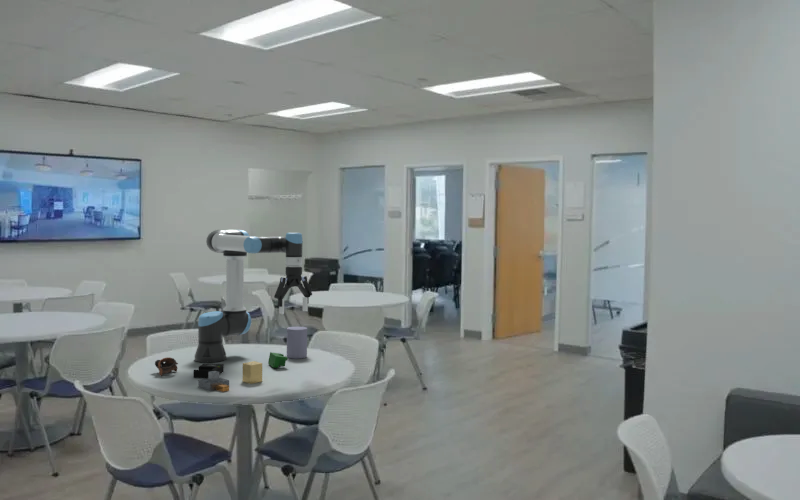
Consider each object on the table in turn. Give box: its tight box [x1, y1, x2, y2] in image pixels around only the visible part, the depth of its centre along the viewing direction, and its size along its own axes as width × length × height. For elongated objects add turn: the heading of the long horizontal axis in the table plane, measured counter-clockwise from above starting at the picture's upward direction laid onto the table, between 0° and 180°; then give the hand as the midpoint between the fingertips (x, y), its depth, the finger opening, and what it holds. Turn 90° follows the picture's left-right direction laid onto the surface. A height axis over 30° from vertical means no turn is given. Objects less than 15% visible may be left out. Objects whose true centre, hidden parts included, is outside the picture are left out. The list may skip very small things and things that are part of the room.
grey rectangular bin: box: [197, 371, 230, 393], centre depth 265 cm, size 14×9×6 cm, turn 48°
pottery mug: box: [154, 357, 179, 377], centre depth 287 cm, size 12×9×8 cm
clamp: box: [267, 351, 288, 369], centre depth 307 cm, size 12×6×9 cm, turn 21°
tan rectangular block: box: [242, 360, 263, 385], centre depth 277 cm, size 6×6×8 cm
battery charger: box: [192, 363, 225, 379], centre depth 288 cm, size 13×10×4 cm
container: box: [286, 326, 308, 360], centre depth 329 cm, size 10×10×15 cm
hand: (293, 312), depth 293 cm, fingers open, 13 cm apart
